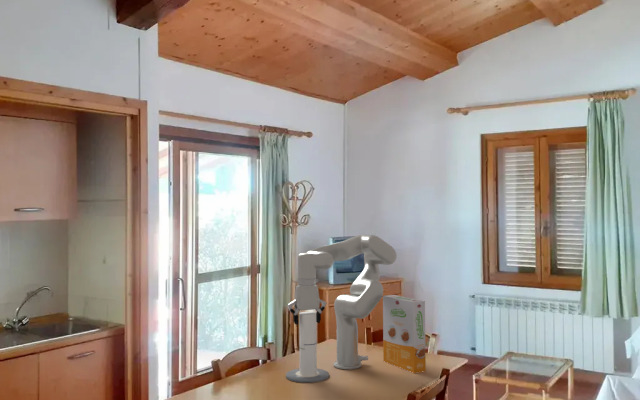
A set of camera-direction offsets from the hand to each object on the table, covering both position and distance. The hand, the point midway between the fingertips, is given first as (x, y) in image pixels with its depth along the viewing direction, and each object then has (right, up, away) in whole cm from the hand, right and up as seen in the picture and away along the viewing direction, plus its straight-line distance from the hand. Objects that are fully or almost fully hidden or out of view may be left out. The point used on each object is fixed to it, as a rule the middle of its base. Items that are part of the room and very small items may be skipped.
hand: (307, 323), depth 232 cm
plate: (0, -22, -1) cm, 22 cm away
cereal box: (+43, -22, +14) cm, 50 cm away
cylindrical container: (0, -21, 0) cm, 21 cm away
